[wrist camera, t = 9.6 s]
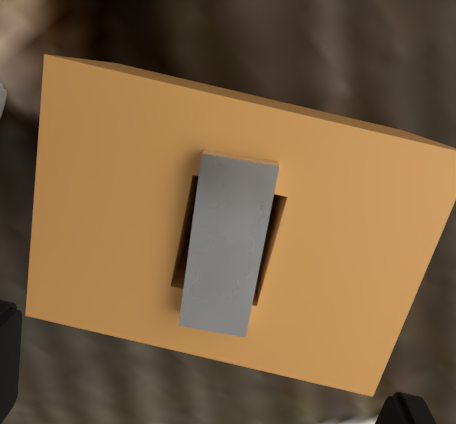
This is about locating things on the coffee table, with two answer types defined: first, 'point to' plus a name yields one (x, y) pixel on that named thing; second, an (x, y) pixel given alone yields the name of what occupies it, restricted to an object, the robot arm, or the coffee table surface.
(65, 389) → the coffee table surface
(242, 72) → the coffee table surface
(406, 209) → the tissue box
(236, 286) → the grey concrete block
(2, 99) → the photo printer
